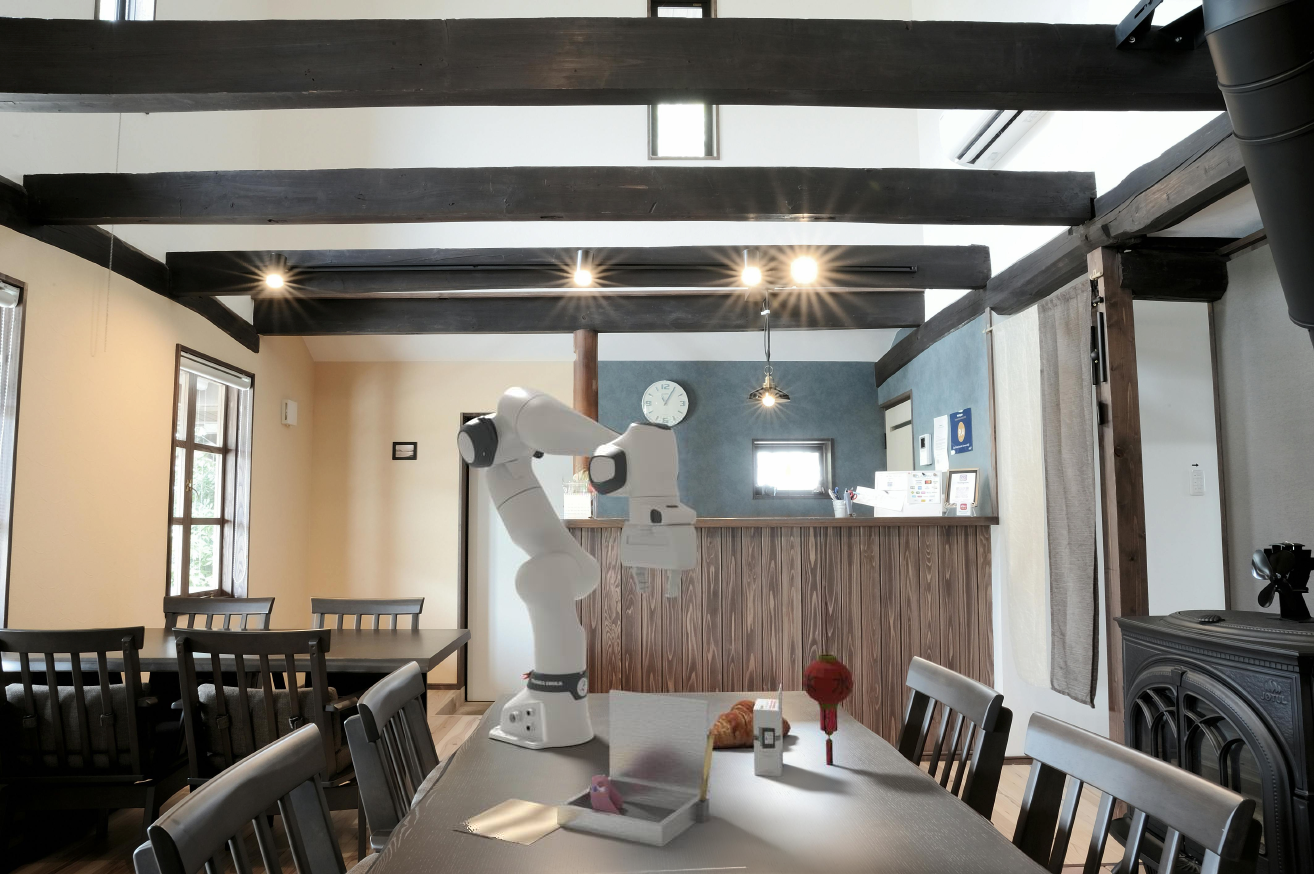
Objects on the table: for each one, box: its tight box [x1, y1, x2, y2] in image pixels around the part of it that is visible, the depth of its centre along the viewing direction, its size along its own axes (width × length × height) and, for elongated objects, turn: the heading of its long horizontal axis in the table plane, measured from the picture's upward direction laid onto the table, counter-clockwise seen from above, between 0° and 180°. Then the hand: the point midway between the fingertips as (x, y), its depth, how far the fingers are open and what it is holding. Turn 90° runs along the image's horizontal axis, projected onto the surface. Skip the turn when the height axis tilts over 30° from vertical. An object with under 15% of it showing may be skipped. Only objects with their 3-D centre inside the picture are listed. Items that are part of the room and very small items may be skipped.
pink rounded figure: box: [588, 773, 624, 815], centre depth 129 cm, size 10×5×7 cm, turn 3°
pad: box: [460, 797, 564, 847], centre depth 127 cm, size 14×14×1 cm
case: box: [556, 689, 714, 847], centre depth 129 cm, size 19×16×18 cm
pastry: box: [709, 699, 791, 749], centre depth 173 cm, size 17×15×8 cm
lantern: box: [802, 601, 854, 766], centre depth 157 cm, size 10×10×30 cm
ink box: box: [753, 683, 784, 777], centre depth 154 cm, size 9×5×15 cm, turn 168°
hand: (657, 594), depth 143 cm, fingers open, 8 cm apart
